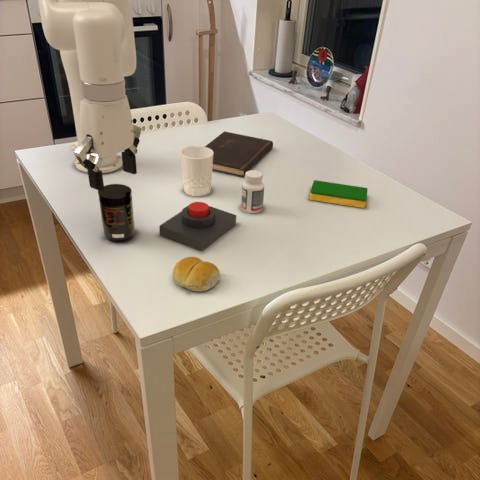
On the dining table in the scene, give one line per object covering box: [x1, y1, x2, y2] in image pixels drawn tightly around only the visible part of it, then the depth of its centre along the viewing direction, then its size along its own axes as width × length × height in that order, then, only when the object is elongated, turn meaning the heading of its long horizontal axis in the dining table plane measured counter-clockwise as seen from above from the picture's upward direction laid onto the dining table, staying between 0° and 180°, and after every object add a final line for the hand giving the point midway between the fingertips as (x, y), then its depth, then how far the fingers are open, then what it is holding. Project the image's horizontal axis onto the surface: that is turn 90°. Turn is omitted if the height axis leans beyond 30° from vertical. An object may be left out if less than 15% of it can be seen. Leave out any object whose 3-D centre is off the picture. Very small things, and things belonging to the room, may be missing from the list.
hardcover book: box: [204, 131, 274, 178], centre depth 147 cm, size 16×23×2 cm
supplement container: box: [97, 183, 136, 243], centre depth 108 cm, size 7×7×10 cm
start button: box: [188, 201, 210, 218], centre depth 112 cm, size 4×4×2 cm
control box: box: [159, 205, 237, 252], centre depth 114 cm, size 11×14×4 cm
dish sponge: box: [309, 179, 368, 209], centre depth 130 cm, size 7×14×2 cm, turn 76°
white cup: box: [180, 145, 214, 197], centre depth 127 cm, size 8×8×10 cm
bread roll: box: [172, 256, 221, 292], centre depth 99 cm, size 8×9×4 cm
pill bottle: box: [240, 169, 265, 214], centre depth 121 cm, size 5×5×9 cm
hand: (114, 180), depth 103 cm, fingers open, 9 cm apart
